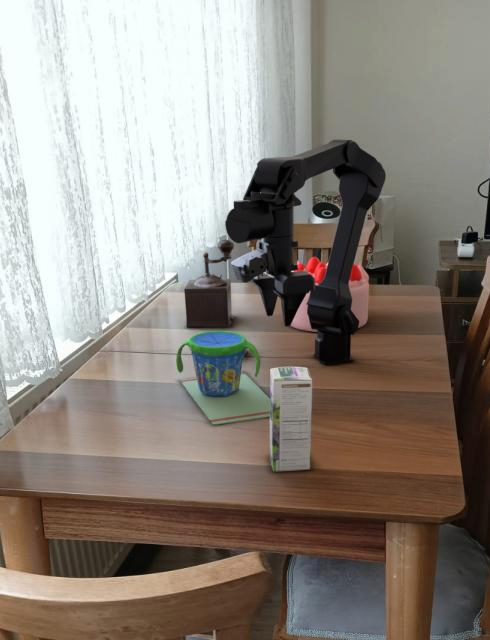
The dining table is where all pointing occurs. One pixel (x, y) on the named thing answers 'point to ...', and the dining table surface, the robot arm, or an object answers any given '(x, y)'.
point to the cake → (356, 286)
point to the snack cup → (218, 360)
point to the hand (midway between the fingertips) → (278, 320)
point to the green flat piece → (231, 402)
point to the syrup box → (290, 418)
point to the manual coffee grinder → (210, 295)
